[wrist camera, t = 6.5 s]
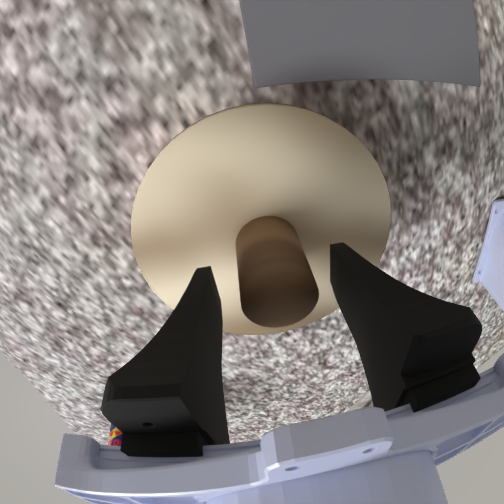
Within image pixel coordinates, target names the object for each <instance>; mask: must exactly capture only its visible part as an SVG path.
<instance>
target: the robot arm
mask: <svg viewBox="0 0 504 504" xmlns="http://www.w3.org/2000/svg"><path fill="white" fill-rule="evenodd" d="M472 280H473V282H474V283H478V282H481V284H482V285H483V286H484V287H485V288H486V290H487V291H488V292H489V293H490V295H491V296H492V297H493V298H494V300H495V301H496V302H497V303H498V305H499V306H500V307H501V308H502V310H503V311H504V199H499V200H495V201H494V202H493V204H492V209H491V214H490V218H489V222H488V226H487V231H486V235H485V238H484V242H483V246H482V249H481V253H480V256H479V260H478V263H477V266H476V269H475V273H474V276H473V279H472ZM330 283H331V286H332V289H333V292H334V295H335V298H336V301H337V303H338V305H339V307H340V309H341V312H342V314H343V316H344V318H345V320H346V322H347V324H348V326H349V329H350V331H351V333H352V335H353V337H354V340H355V342H356V345H357V347H358V350H359V354H360V357H361V360H362V363H363V367H364V370H365V374H366V377H367V381H368V385H369V389H370V393H371V397H372V402H373V406H374V407H366V408H360V409H356V410H352V411H349V412H345V413H341V414H337V415H333V416H328V417H324V418H320V419H315V420H310V421H305V422H300V423H295V424H290V425H286V426H282V427H279V428H275V429H273V430H271V431H269V432H267V433H266V434H264V435H263V436H262V439H261V440H257V441H249V442H241V443H231V444H230V441H229V434H228V427H227V420H226V412H225V403H224V394H223V383H222V367H221V361H222V332H223V317H222V306H221V299H220V296H219V292H218V289H217V285H216V282H215V279H214V275H213V272H212V268H211V266H207V267H201V268H197V269H196V270H195V272H194V274H193V276H192V278H191V280H190V282H189V284H188V286H187V288H186V290H185V292H184V294H183V295H182V297H181V299H180V301H179V302H178V304H177V306H176V307H175V309H174V310H173V312H172V314H171V315H170V317H169V318H168V320H167V321H166V322H165V324H164V325H163V326H162V328H161V329H160V330H159V332H158V333H157V334H156V335H155V336H154V337H153V339H152V340H151V341H150V342H149V343H148V344H147V345H146V346H145V347H144V348H143V349H142V350H141V351H140V352H139V353H138V354H137V355H136V356H135V357H134V358H132V359H131V360H130V361H129V362H128V363H127V364H125V365H124V366H123V367H122V368H120V369H119V370H118V371H116V372H115V373H114V374H112V375H111V376H109V377H108V380H107V383H106V386H105V391H104V395H103V400H102V406H101V411H102V414H103V415H104V416H105V417H106V418H107V420H108V421H110V422H111V423H112V424H113V425H114V426H115V427H116V428H117V429H119V430H120V431H121V432H122V440H121V446H111V445H100V444H99V443H98V442H97V441H96V440H94V439H93V438H91V437H88V436H84V435H74V434H64V435H63V440H62V445H61V450H60V455H59V460H58V466H57V472H56V478H55V486H56V487H57V488H59V489H61V490H63V491H66V492H68V493H70V494H72V495H74V496H77V497H79V498H81V499H83V500H86V501H88V502H90V503H95V504H448V502H447V499H446V496H445V493H444V490H443V486H442V484H441V480H440V478H439V475H438V472H437V469H436V466H437V465H439V464H441V463H443V462H444V461H447V460H449V459H450V458H452V457H454V456H456V455H458V454H460V453H461V452H463V451H465V450H467V449H468V448H470V447H472V446H473V445H475V444H477V443H478V442H480V441H482V440H483V439H485V438H486V437H488V436H490V435H491V434H493V433H494V432H496V431H497V430H499V429H500V428H502V427H504V354H502V355H501V356H500V357H499V358H498V360H497V361H496V363H495V365H494V367H492V368H490V369H488V370H486V371H485V372H482V373H480V374H478V372H477V370H476V368H475V367H474V365H473V363H474V362H475V358H474V356H473V355H472V351H473V349H474V348H475V346H476V344H477V342H478V340H479V338H480V336H481V333H482V324H481V322H480V321H479V320H478V318H477V317H476V315H475V314H474V313H473V311H472V310H471V309H470V307H466V306H462V305H458V304H454V303H450V302H447V301H444V300H440V299H437V298H435V297H432V296H429V295H427V294H425V293H422V292H420V291H418V290H415V289H413V288H411V287H409V286H407V285H405V284H403V283H402V282H400V281H398V280H396V279H394V278H393V277H391V276H390V275H388V274H386V273H385V272H383V271H382V270H380V269H379V268H377V267H376V266H374V265H373V264H372V263H370V262H369V261H367V260H366V259H365V258H363V257H362V256H361V255H360V254H358V253H357V252H356V251H354V250H353V249H352V248H350V247H349V246H348V245H347V244H345V243H344V242H341V243H335V244H330Z"/></svg>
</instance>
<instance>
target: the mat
mask: <svg viewBox="0 0 504 504" xmlns="http://www.w3.org/2000/svg"><path fill="white" fill-rule="evenodd" d="M239 1H240V6H241V12H242V17H243V23H244V29H245V34H246V40H247V46H248V51H249V57H250V63H251V69H252V75H253V81H254V87H256V88H259V87H267V86H274V85H283V84H292V83H303V82H315V81H330V80H355V79H394V80H418V81H433V82H445V83H454V84H463V85H471V86H478V87H480V68H479V50H478V38H477V29H476V21H475V13H474V7H473V0H239Z"/></svg>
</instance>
